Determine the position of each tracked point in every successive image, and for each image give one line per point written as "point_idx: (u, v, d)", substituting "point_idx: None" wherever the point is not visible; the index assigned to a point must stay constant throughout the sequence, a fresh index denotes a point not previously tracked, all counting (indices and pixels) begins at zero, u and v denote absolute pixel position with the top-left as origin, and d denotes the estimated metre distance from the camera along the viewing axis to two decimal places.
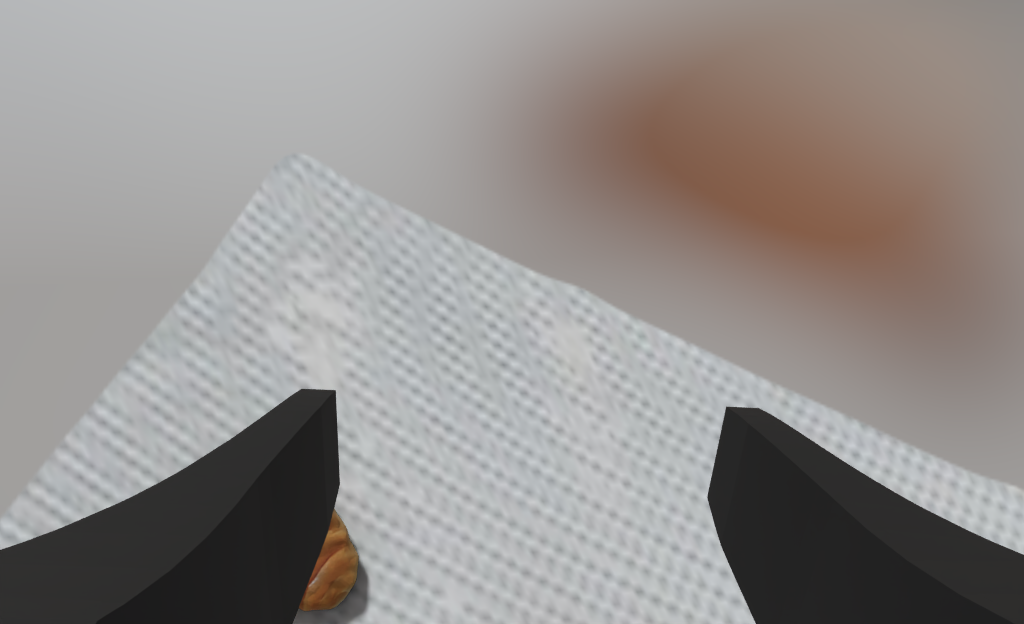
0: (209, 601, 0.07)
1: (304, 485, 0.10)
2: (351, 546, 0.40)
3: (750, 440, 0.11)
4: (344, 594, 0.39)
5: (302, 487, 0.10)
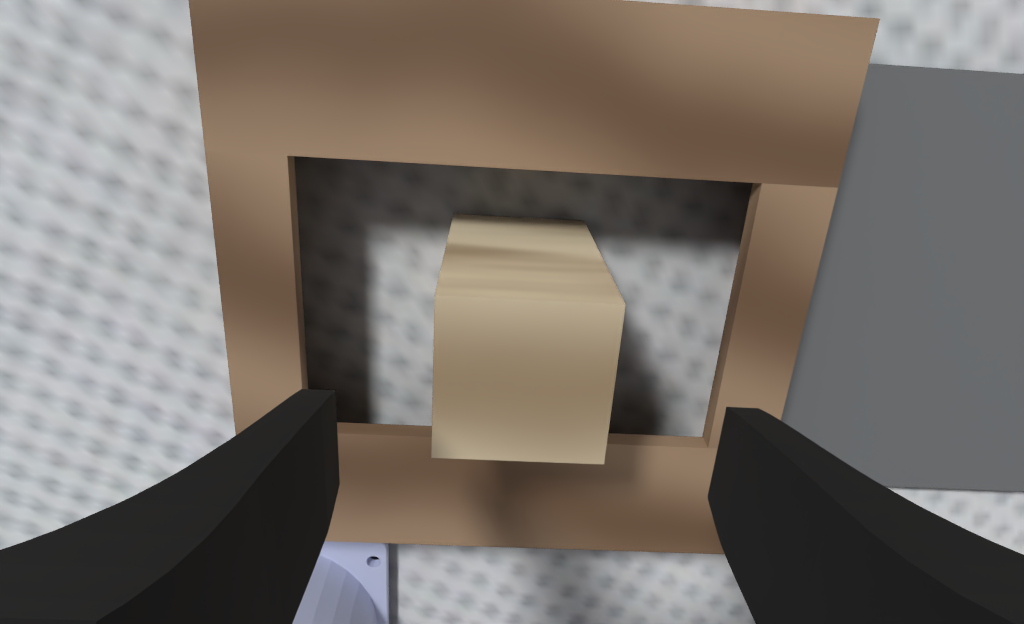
0: (209, 602, 0.07)
1: (304, 485, 0.10)
2: None
3: (750, 440, 0.11)
4: None
5: (302, 487, 0.10)
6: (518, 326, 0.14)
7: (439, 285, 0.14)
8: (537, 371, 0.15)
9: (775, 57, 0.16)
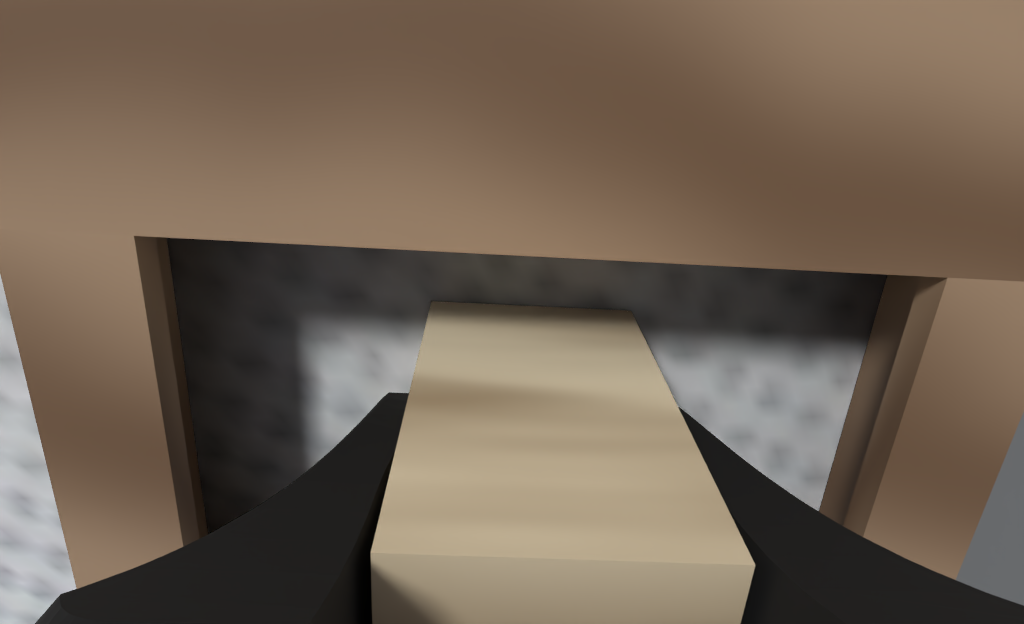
0: (355, 606, 0.07)
1: None
2: None
3: None
4: None
5: None
6: (539, 603, 0.07)
7: (384, 515, 0.07)
8: None
9: (995, 64, 0.09)
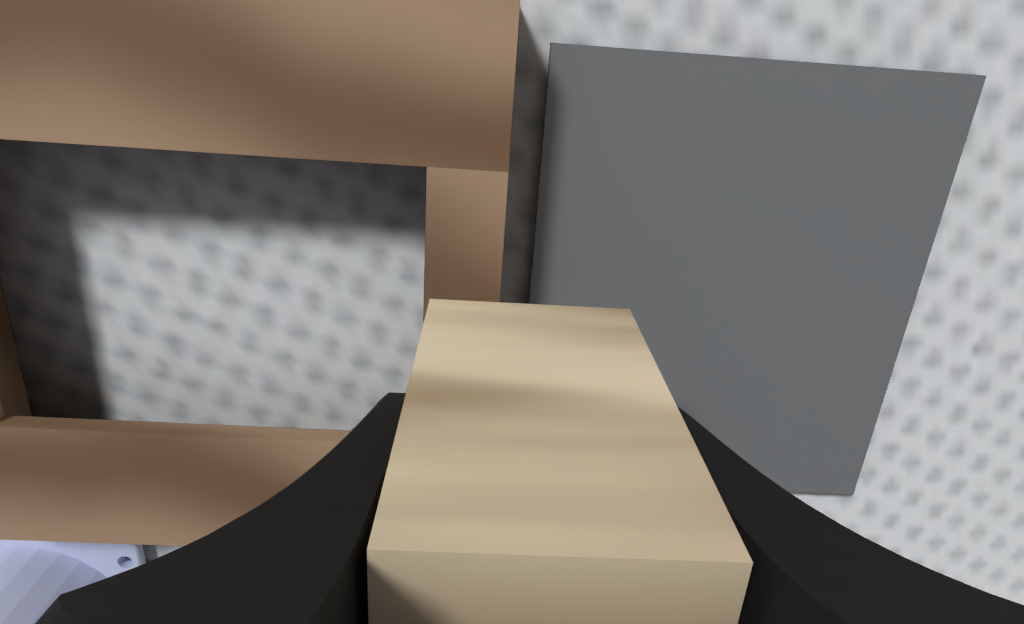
0: (354, 606, 0.07)
1: None
2: None
3: None
4: None
5: None
6: (535, 599, 0.07)
7: (381, 513, 0.07)
8: None
9: (416, 32, 0.15)
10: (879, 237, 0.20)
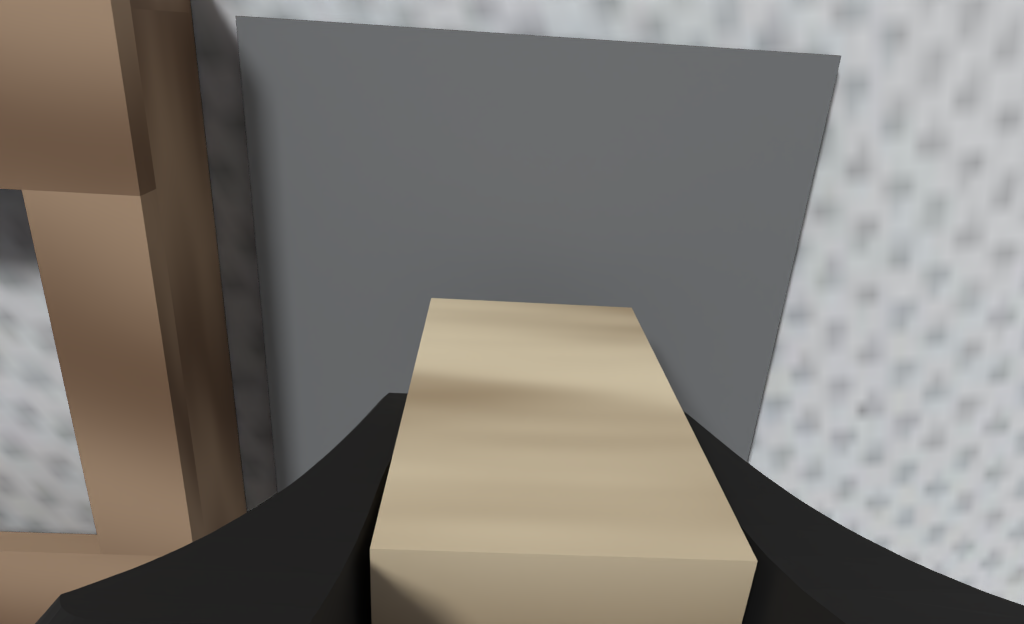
0: (355, 606, 0.07)
1: None
2: None
3: None
4: None
5: None
6: (539, 600, 0.07)
7: (383, 511, 0.07)
8: None
9: None
10: (717, 272, 0.15)
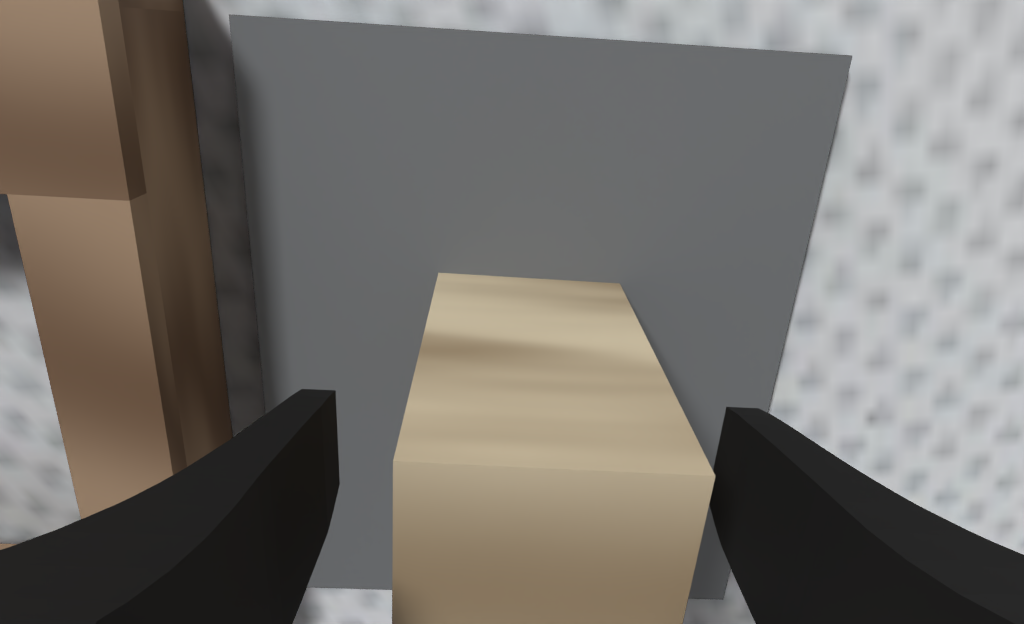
0: (209, 602, 0.07)
1: (304, 485, 0.10)
2: None
3: (750, 440, 0.11)
4: None
5: (302, 487, 0.10)
6: (533, 507, 0.08)
7: (403, 435, 0.09)
8: (563, 573, 0.09)
9: None
10: (723, 277, 0.15)
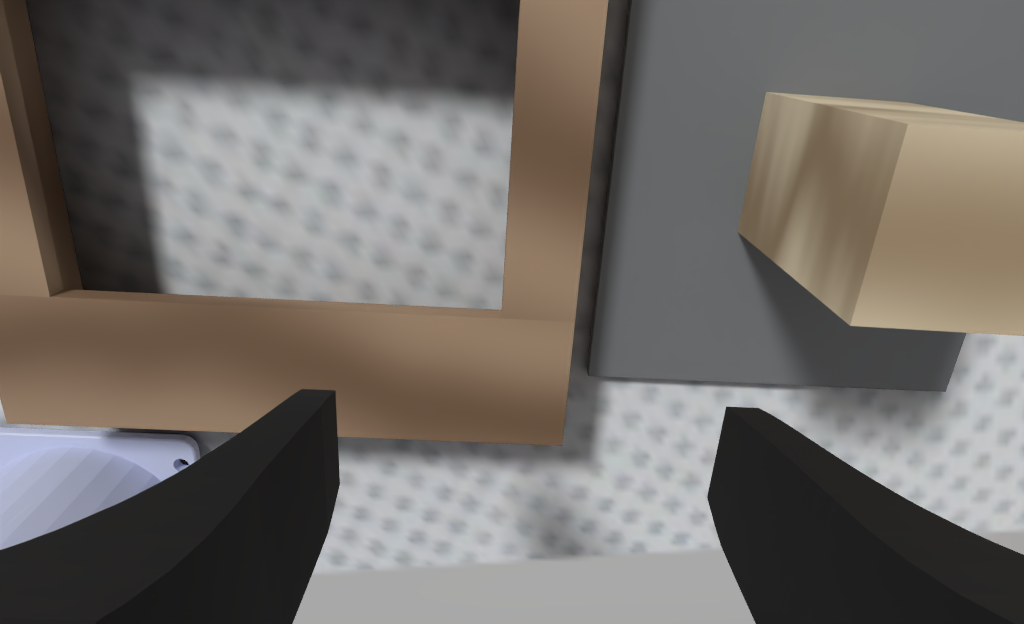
0: (209, 601, 0.07)
1: (304, 485, 0.10)
2: None
3: (750, 440, 0.11)
4: None
5: (302, 487, 0.10)
6: (991, 164, 0.12)
7: (894, 120, 0.13)
8: (997, 221, 0.13)
9: None
10: (989, 97, 0.19)
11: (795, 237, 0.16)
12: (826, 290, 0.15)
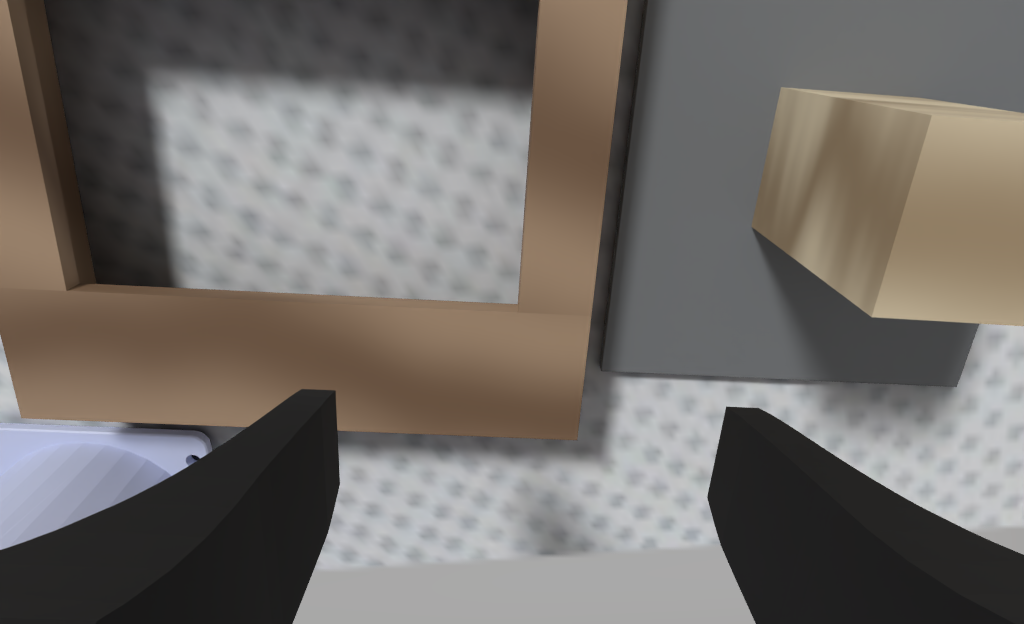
0: (209, 602, 0.07)
1: (304, 485, 0.10)
2: None
3: (750, 440, 0.11)
4: None
5: (303, 487, 0.10)
6: (1013, 155, 0.13)
7: (916, 111, 0.13)
8: (1018, 212, 0.13)
9: None
10: (1002, 93, 0.19)
11: (813, 230, 0.16)
12: (846, 282, 0.15)
